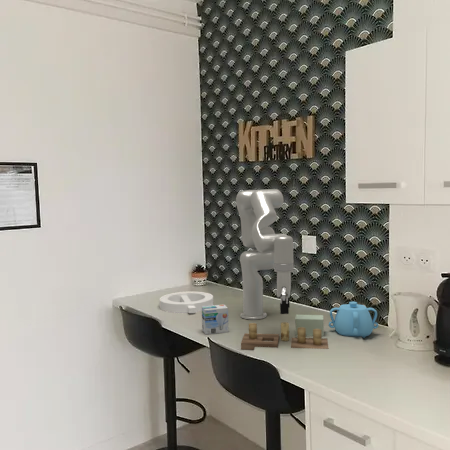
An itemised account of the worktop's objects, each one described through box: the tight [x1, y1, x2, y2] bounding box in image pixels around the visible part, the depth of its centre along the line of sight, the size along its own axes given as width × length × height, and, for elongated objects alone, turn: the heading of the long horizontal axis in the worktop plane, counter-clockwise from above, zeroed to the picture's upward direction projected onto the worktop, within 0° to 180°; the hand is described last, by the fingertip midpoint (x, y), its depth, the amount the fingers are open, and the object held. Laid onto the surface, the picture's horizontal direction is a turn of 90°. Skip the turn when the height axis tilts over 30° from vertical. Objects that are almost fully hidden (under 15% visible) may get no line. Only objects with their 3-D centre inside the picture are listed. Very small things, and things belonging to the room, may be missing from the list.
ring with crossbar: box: [159, 290, 214, 314], centre depth 257 cm, size 28×28×5 cm
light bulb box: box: [201, 304, 230, 335], centre depth 212 cm, size 11×7×11 cm, turn 105°
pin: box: [280, 321, 290, 342], centre depth 194 cm, size 3×3×8 cm
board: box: [290, 327, 330, 350], centre depth 190 cm, size 12×14×7 cm
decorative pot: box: [328, 301, 379, 339], centre depth 202 cm, size 16×16×14 cm
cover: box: [294, 314, 325, 337], centre depth 201 cm, size 7×11×8 cm, turn 80°
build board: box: [240, 322, 280, 351], centre depth 193 cm, size 12×14×8 cm
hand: (285, 310), depth 193 cm, fingers open, 9 cm apart
